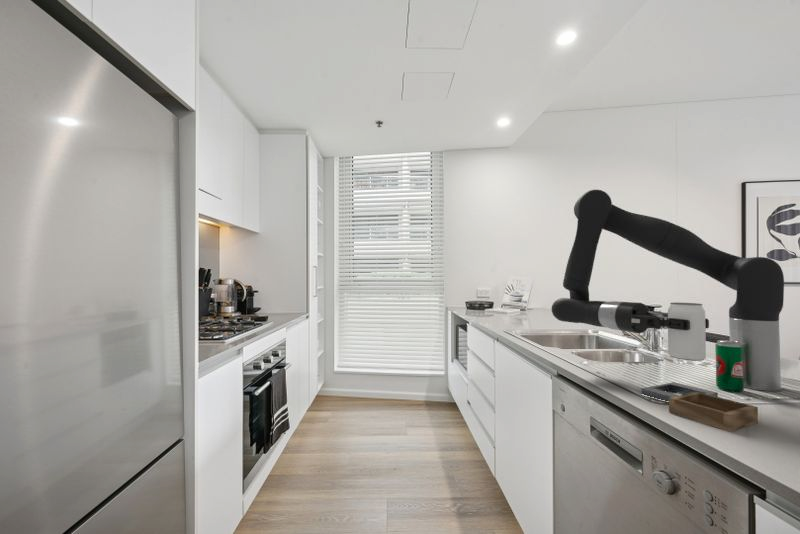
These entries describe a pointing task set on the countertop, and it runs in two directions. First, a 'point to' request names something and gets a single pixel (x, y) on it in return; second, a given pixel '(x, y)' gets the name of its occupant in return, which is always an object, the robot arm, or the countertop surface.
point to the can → (687, 332)
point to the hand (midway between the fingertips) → (698, 324)
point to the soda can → (729, 366)
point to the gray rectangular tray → (660, 390)
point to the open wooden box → (714, 411)
